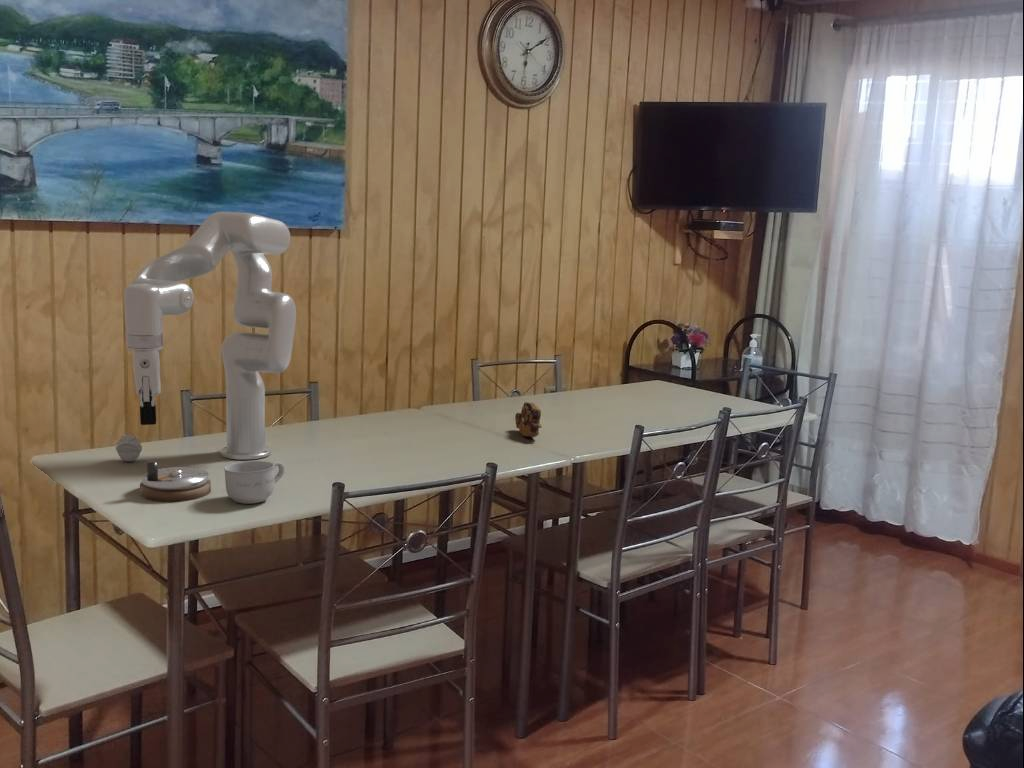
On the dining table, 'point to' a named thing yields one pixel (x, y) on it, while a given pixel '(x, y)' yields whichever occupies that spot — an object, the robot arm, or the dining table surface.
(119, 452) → the grey lumpy ball
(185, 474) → the handwheel
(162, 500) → the plinth
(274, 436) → the dining table surface
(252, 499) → the teacup
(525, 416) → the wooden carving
